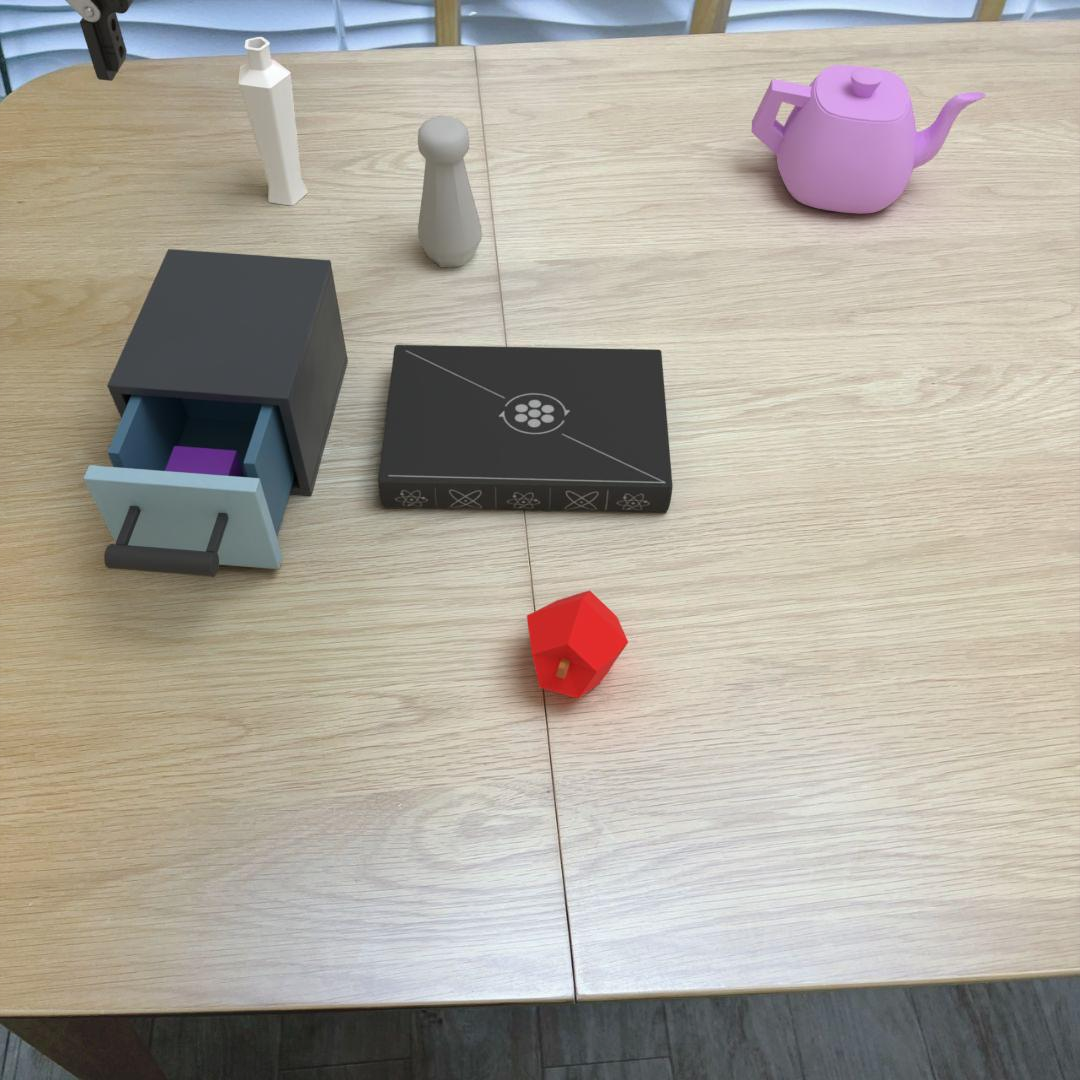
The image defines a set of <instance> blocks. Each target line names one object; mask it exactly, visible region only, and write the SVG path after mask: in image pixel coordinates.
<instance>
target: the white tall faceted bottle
mask: <svg viewBox="0 0 1080 1080" xmlns="http://www.w3.org/2000/svg"><path fill="white" fill-rule="evenodd" d="M244 41H245V42H244V49H245V50H246V53H247V57H248V61H249V62H247V63H245V64H242V65H240V67H239V74H238V82H237V83H238V87H239V89H240V93H241V96H242V100H243V103H244V106H245V110H246V113H247V116H248V121H249V123H250V126H251V130H252V133H253V137H254V140H255V144H256V147H257V150H258V153H259V157H260V161H261V163H262V168H263V170H264V173H265V177H266V181H267V184H268V192H267V193H268V196H267V200H268V201H267V202H268V203H271V204H278V205H283V206H284V205H285V206H295V205H296V204H297V203H298V202H299V201H301V200H303V198H304V197H305V196H306V195H307V194H308V193H309V191H308V189H307V187H306V185H305V183H304V181H303V179H302V171H301V162H300V154H299V153H300V151H299V142H298V133H297V124H296V114H295V104H294V95H293V94H294V93H293V84H292V75H291V71H290V70H288V69H287V68H286V67H285V66H283V65H282V64H280V63H279V62H278V61H276V60H275V59H272V57H271V50H270V44H271V43H270V41H269V40H267V39H266V38H264V37H263V36H257V37H252V38H248V39H246V40H244Z"/></svg>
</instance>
